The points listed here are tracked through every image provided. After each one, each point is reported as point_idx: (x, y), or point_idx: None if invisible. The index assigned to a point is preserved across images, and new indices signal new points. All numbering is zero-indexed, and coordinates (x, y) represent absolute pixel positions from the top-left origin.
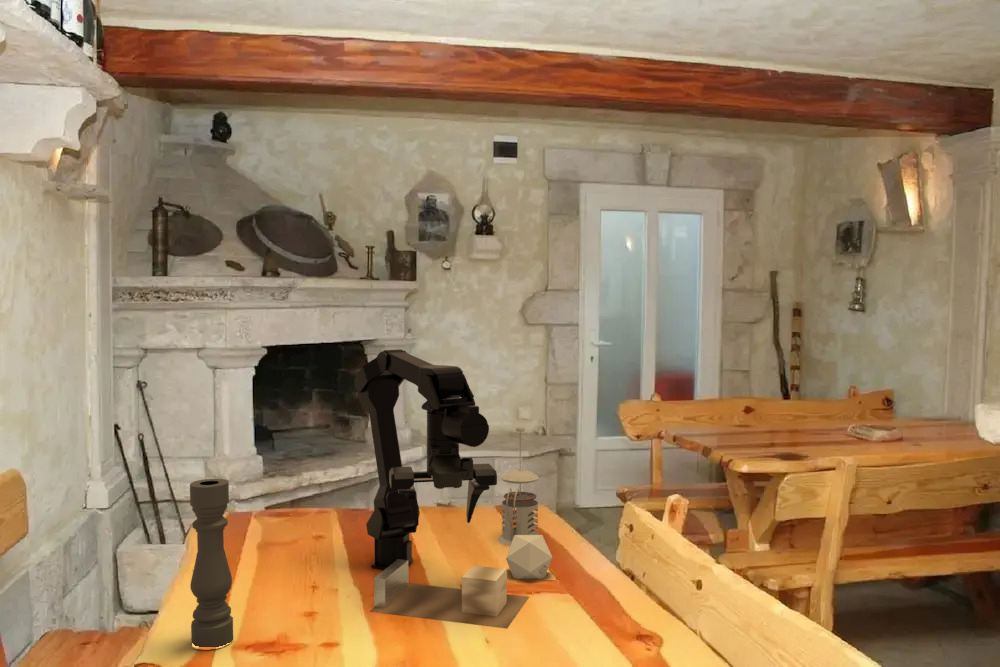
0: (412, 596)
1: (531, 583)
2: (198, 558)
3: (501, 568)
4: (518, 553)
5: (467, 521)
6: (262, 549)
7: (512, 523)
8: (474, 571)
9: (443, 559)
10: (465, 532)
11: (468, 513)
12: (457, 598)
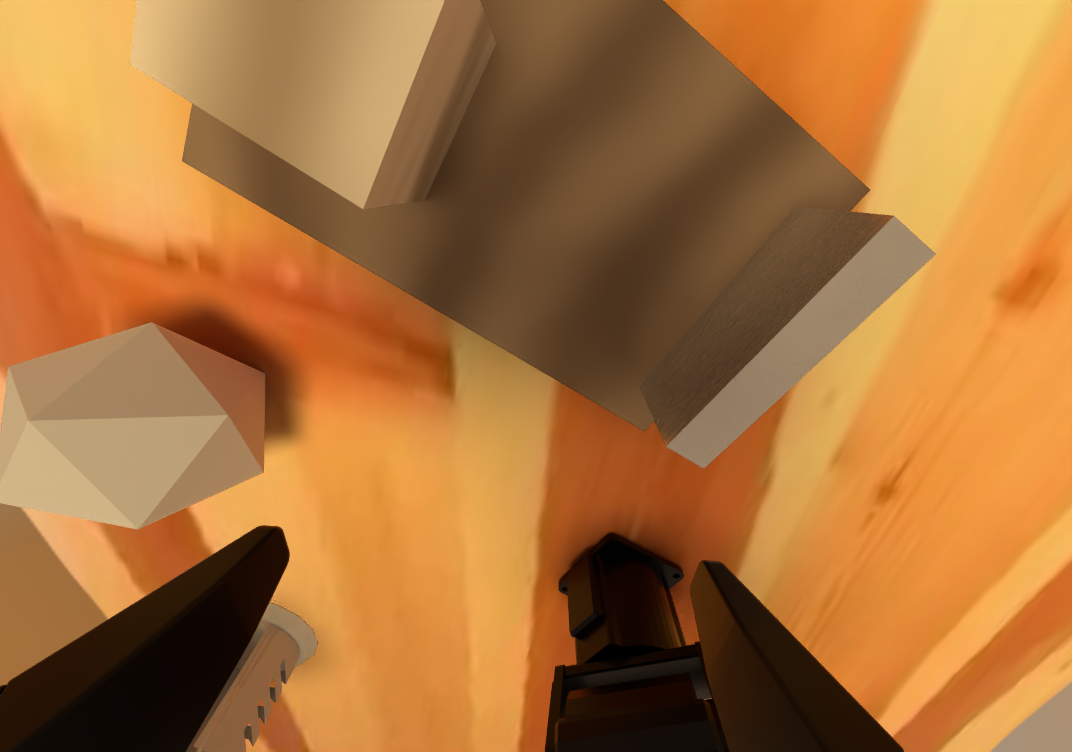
0: (651, 301)
1: (205, 345)
2: None
3: (168, 82)
4: (150, 405)
5: (274, 537)
6: (877, 704)
7: (236, 679)
8: (359, 70)
9: (474, 573)
10: (395, 689)
11: (199, 597)
12: (487, 228)
